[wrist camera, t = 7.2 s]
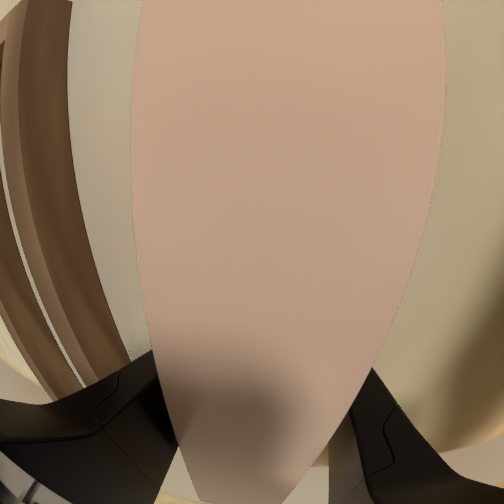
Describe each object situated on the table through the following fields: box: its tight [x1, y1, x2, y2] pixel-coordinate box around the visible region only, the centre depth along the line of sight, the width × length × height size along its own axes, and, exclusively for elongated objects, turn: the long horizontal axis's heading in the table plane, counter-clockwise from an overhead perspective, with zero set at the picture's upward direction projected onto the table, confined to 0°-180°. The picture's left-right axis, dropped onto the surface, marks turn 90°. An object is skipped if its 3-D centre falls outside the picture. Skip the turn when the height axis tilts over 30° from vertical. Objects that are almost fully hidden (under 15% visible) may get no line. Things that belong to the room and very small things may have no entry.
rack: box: [0, 0, 130, 402], centre depth 11 cm, size 8×25×2 cm, turn 3°
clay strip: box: [130, 0, 446, 504], centre depth 8 cm, size 4×18×5 cm, turn 176°
